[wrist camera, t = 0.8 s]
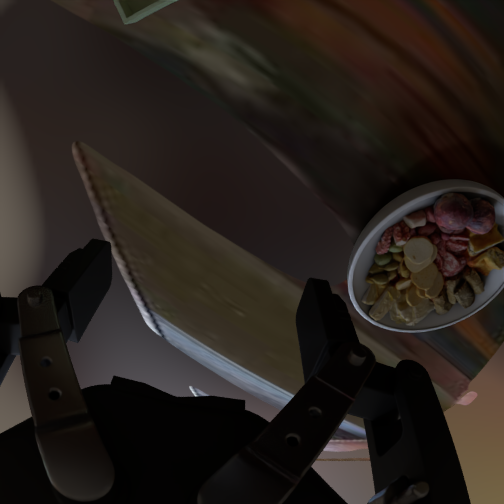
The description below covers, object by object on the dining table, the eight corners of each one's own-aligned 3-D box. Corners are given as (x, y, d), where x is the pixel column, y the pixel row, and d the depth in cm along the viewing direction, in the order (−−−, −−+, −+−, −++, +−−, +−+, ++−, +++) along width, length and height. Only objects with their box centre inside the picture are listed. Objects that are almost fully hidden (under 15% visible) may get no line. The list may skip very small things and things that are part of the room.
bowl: (489, 297, 51) (502, 328, 45) (351, 321, 59) (354, 356, 53) (521, 161, 32) (550, 190, 26) (332, 183, 40) (338, 218, 35)
